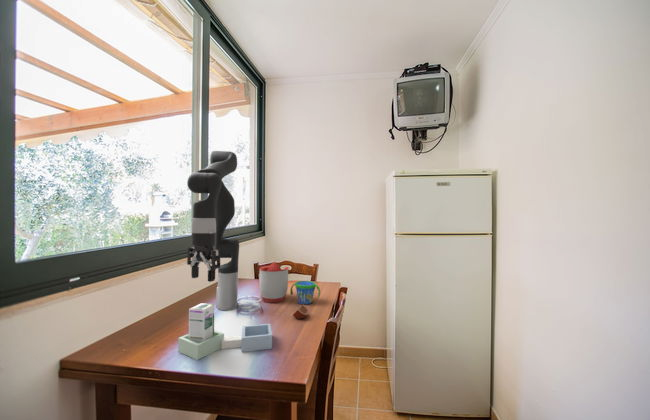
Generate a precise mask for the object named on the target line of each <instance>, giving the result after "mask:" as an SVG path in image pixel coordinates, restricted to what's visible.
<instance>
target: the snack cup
mask: <svg viewBox="0 0 650 420" xmlns="http://www.w3.org/2000/svg"><path fill="white" fill-rule="evenodd" d="M294 286H295V291H296V299H297V302H298V304H299V305H303V304H304V305H310V304H312V303H313V300H314V299H313V298H314V294H315V289H317V290H318V295H317V298H318V299H319V298H320V295H321V289H320V286H319V285H318V284H317V283H316V282H315V281H311V280H299V281H296V282H294V283H293V284H292V285H291V288H290V289H289V290H290V293H289V294H290V295H291V296H293V294H294V293H293V291H294V290H293V287H294Z"/></svg>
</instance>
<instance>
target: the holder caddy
mask: <svg viewBox="0 0 650 420" xmlns="http://www.w3.org/2000/svg"><path fill="white" fill-rule="evenodd" d="M177 343H178V344H177V345H178V346H177V348H178V350H177V351H178V353H180V354H182V355H185V356H187V357H190V358H192V359H194V360H196V361H198V359H199V360H201V359H202V357H203V358H204V356H205V357H206V356H209V355H210V354H212V353H215V352H217V351H218V350H220V349H221V350H225V349H234V348H241V350H240V351H241V353H243V352H244V353H245V352H251V351H261V350H270V349H273V332H272V326H271V323H261V324H260V323H259V324H250V325H249V324H248V325H242V329H241V335H236V336H235V335H234V336H226V337H225V333H223V332H221V331H218V330H215V329H214V337H212V338H210V339H207V340H205V341H203V342H201V343H196V342H194V341H191V340H189V333H187V334H184V335H183V336H182V335H181V336H180V337H178V342H177ZM200 358H201V359H200Z"/></svg>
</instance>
